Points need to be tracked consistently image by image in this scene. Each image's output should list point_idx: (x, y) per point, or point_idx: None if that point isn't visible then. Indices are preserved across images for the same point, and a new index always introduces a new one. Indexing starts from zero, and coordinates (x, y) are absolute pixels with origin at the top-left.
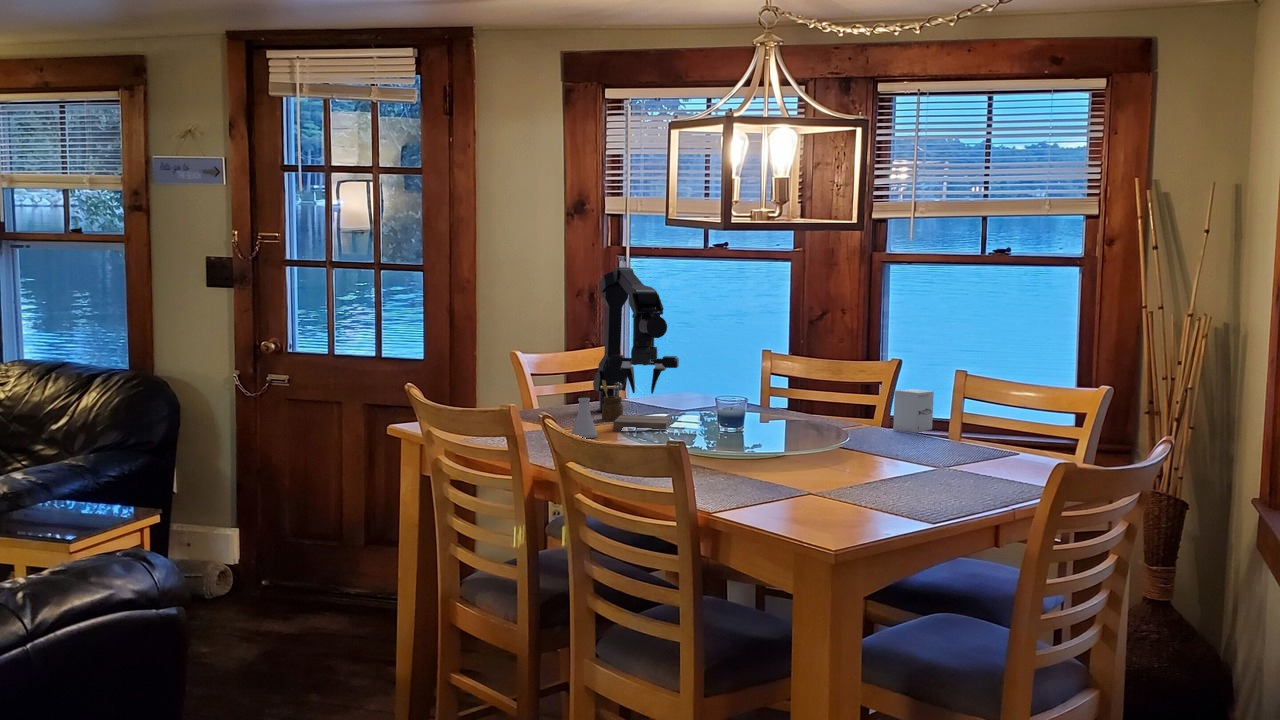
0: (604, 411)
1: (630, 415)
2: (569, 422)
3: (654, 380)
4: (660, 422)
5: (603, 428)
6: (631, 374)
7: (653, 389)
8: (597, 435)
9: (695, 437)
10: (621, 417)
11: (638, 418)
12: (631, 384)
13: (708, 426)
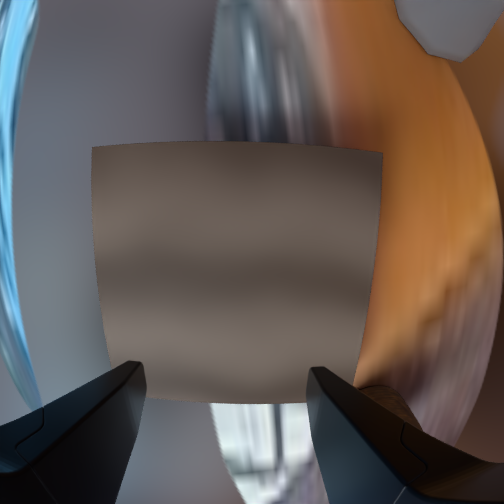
0: (412, 413)
1: (304, 396)
2: (488, 356)
3: (48, 421)
4: (120, 176)
5: (408, 242)
6: (423, 487)
7: (107, 374)
8: (398, 12)
9: (17, 76)
10: (348, 328)
11: (258, 311)
12: (365, 403)
13: (16, 351)
